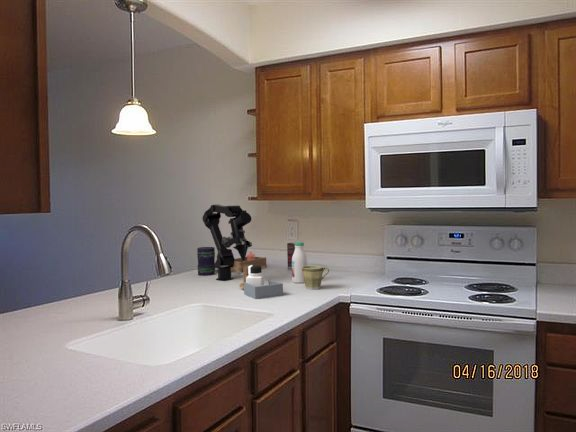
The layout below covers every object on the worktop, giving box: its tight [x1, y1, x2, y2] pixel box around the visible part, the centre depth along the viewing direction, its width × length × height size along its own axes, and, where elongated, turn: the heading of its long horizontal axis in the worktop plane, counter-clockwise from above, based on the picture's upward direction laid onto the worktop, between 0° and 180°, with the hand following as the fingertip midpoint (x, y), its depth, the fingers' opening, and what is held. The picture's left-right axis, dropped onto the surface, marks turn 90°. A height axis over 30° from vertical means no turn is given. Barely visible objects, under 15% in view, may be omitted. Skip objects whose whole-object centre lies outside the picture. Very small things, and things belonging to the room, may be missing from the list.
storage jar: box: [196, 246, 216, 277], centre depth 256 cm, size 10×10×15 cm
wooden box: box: [225, 256, 267, 274], centre depth 272 cm, size 14×23×6 cm, turn 145°
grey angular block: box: [243, 279, 284, 300], centre depth 201 cm, size 11×13×5 cm
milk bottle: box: [291, 241, 308, 284], centre depth 229 cm, size 8×8×20 cm
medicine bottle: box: [246, 265, 265, 286], centre depth 208 cm, size 7×7×12 cm
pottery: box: [246, 251, 256, 261], centre depth 272 cm, size 18×10×10 cm, turn 146°
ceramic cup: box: [302, 265, 330, 291], centre depth 213 cm, size 13×10×10 cm
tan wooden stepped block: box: [239, 267, 249, 290], centre depth 214 cm, size 5×8×9 cm, turn 120°
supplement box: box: [286, 242, 295, 271], centre depth 265 cm, size 9×5×16 cm, turn 46°
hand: (243, 260), depth 223 cm, fingers closed
